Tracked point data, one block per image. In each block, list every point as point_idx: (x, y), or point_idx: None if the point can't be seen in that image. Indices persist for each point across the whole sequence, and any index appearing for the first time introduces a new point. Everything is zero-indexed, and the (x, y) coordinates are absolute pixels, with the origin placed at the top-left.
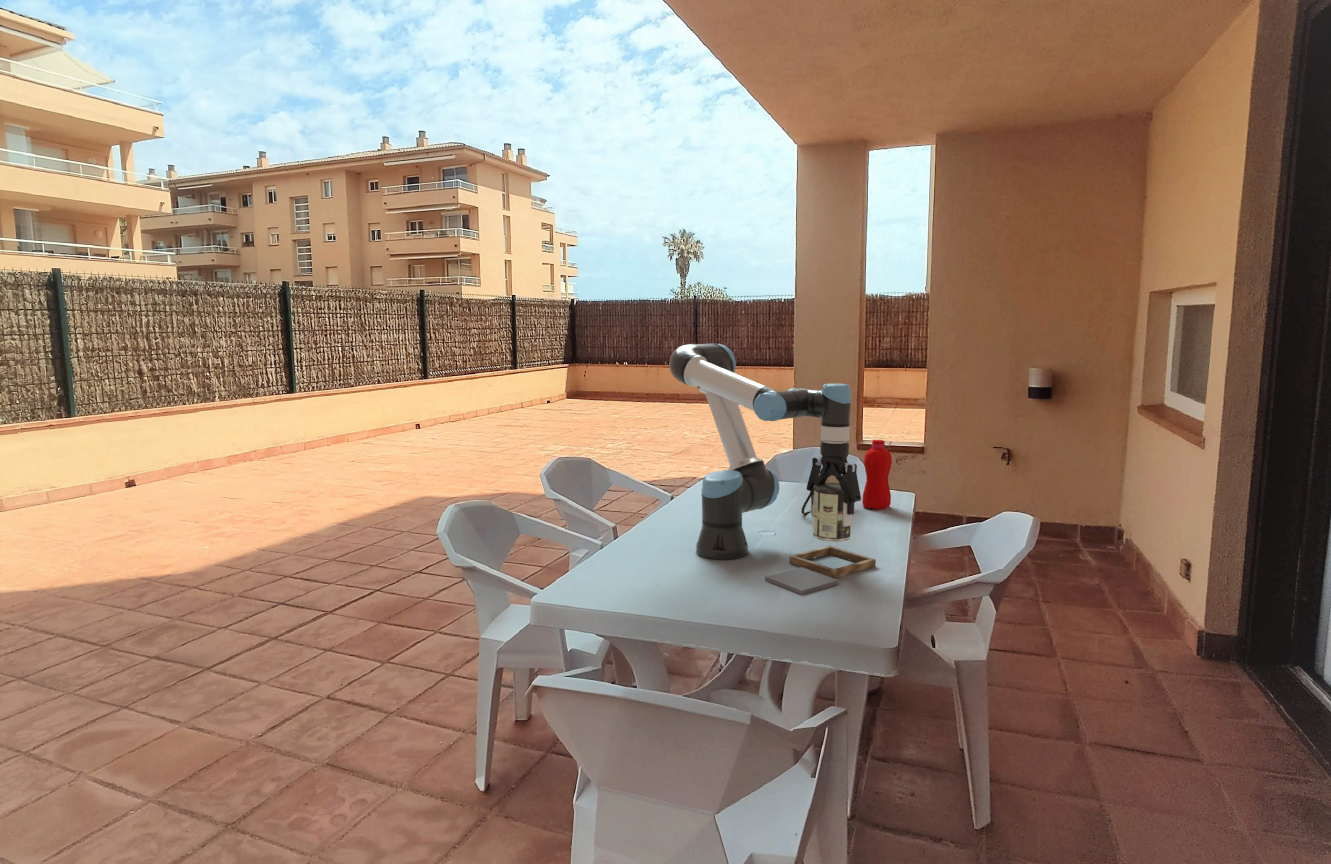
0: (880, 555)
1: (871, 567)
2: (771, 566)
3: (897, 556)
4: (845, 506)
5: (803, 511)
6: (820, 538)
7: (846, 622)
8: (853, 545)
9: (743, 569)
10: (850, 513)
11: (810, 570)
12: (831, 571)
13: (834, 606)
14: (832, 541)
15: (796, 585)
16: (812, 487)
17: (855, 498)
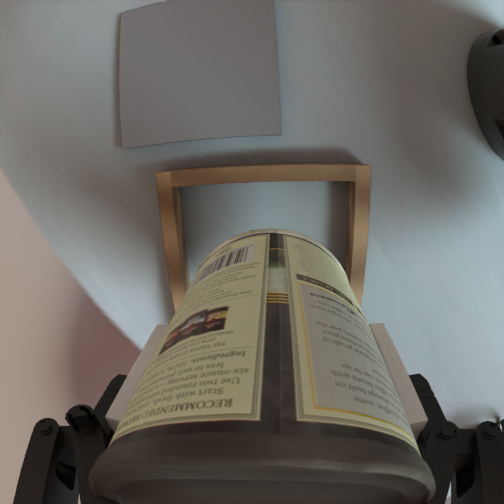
0: None
1: None
2: (368, 91)
3: None
4: (114, 399)
5: (501, 422)
6: (258, 232)
7: (3, 41)
8: None
9: (387, 15)
10: (113, 380)
11: (234, 135)
12: (169, 171)
13: (44, 53)
14: (208, 255)
15: (156, 18)
16: (465, 459)
17: (34, 435)
